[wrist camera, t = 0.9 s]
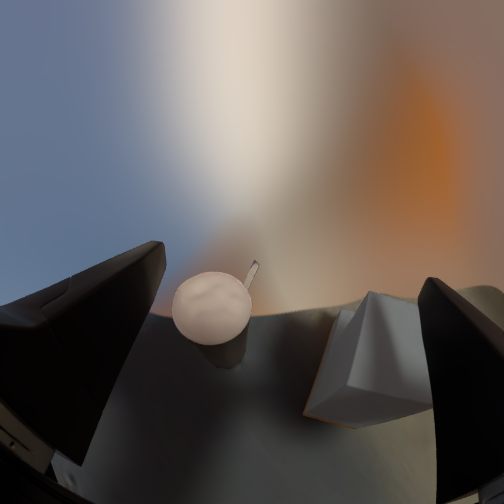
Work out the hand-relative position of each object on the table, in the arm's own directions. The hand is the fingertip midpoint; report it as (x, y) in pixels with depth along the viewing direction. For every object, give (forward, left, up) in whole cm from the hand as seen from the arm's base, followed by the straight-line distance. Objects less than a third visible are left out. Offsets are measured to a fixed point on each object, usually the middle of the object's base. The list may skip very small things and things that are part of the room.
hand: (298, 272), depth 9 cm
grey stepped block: (0, -5, -15) cm, 16 cm away
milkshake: (+3, +4, -15) cm, 16 cm away
